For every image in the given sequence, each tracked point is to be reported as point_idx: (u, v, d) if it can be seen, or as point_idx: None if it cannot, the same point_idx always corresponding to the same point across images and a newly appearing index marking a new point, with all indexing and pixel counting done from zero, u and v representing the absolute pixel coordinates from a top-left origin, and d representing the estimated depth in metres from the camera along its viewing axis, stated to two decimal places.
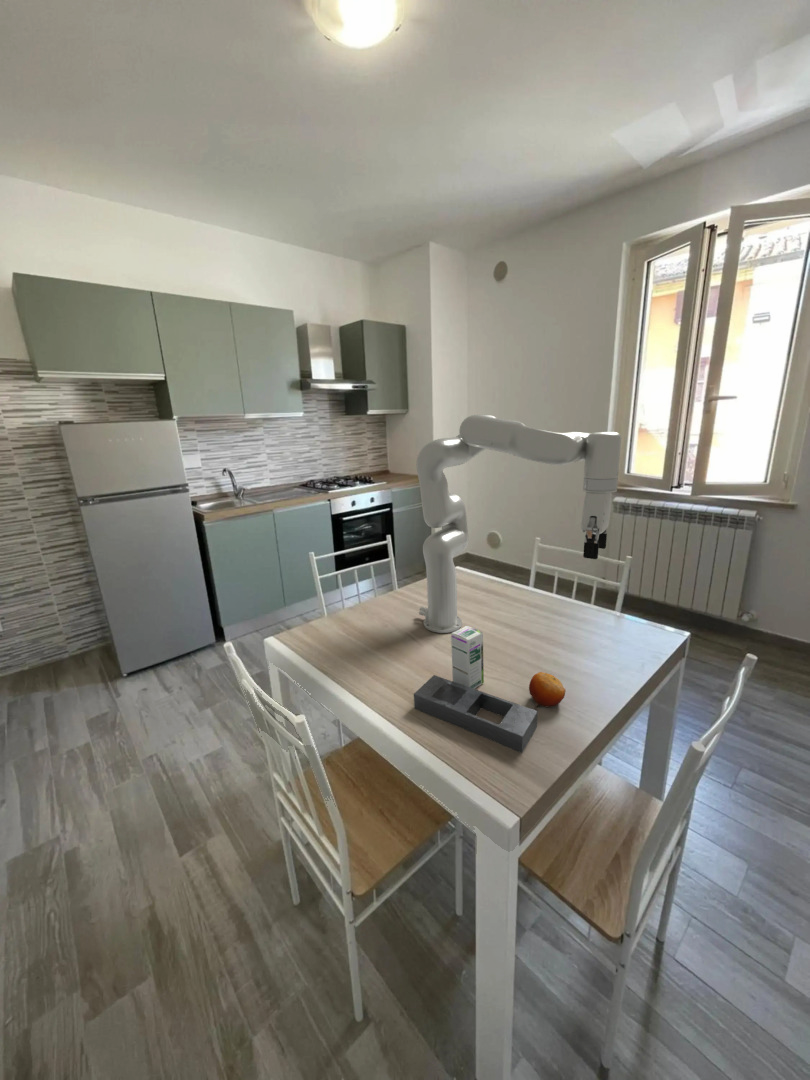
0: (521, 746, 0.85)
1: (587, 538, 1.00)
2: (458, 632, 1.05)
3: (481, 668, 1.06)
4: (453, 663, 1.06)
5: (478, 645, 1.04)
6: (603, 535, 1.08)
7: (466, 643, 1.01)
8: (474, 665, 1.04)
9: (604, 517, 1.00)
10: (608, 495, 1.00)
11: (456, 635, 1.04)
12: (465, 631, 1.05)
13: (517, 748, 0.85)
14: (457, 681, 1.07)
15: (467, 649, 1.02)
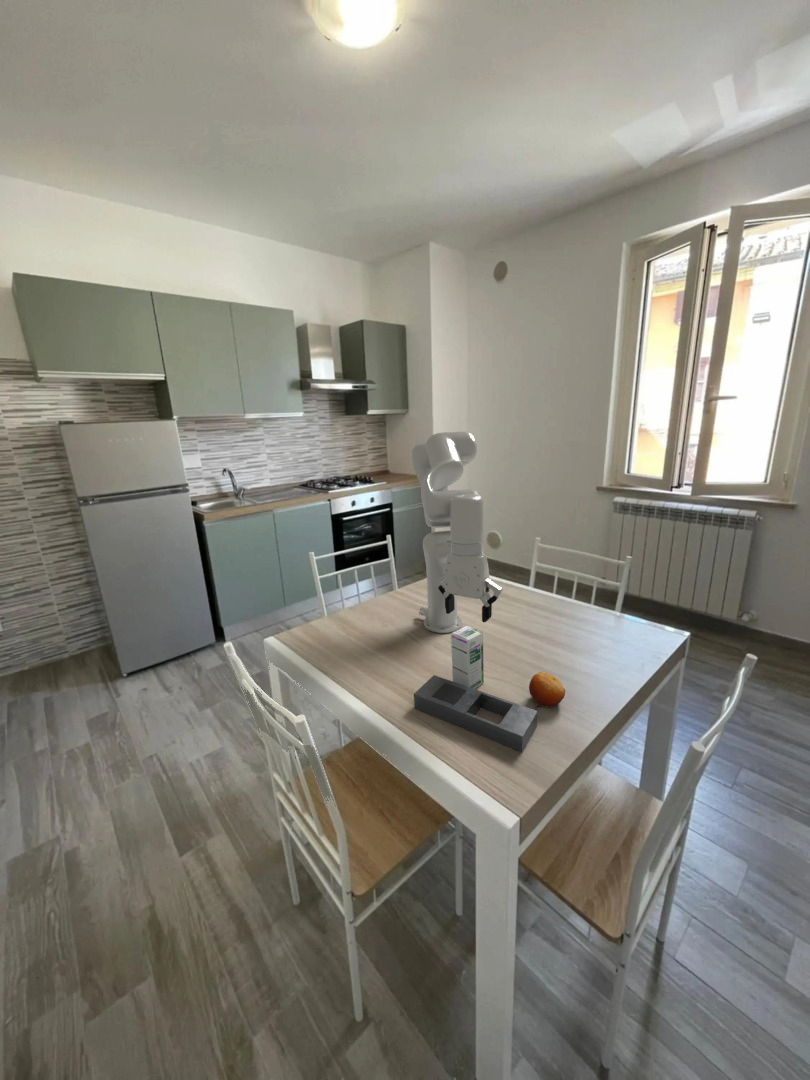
0: (521, 746, 0.85)
1: None
2: (458, 632, 1.05)
3: (481, 668, 1.06)
4: (453, 663, 1.06)
5: (478, 645, 1.04)
6: (453, 597, 1.05)
7: (466, 643, 1.01)
8: (474, 665, 1.04)
9: None
10: None
11: (456, 635, 1.04)
12: (465, 631, 1.05)
13: (517, 748, 0.85)
14: (457, 681, 1.07)
15: (467, 649, 1.02)
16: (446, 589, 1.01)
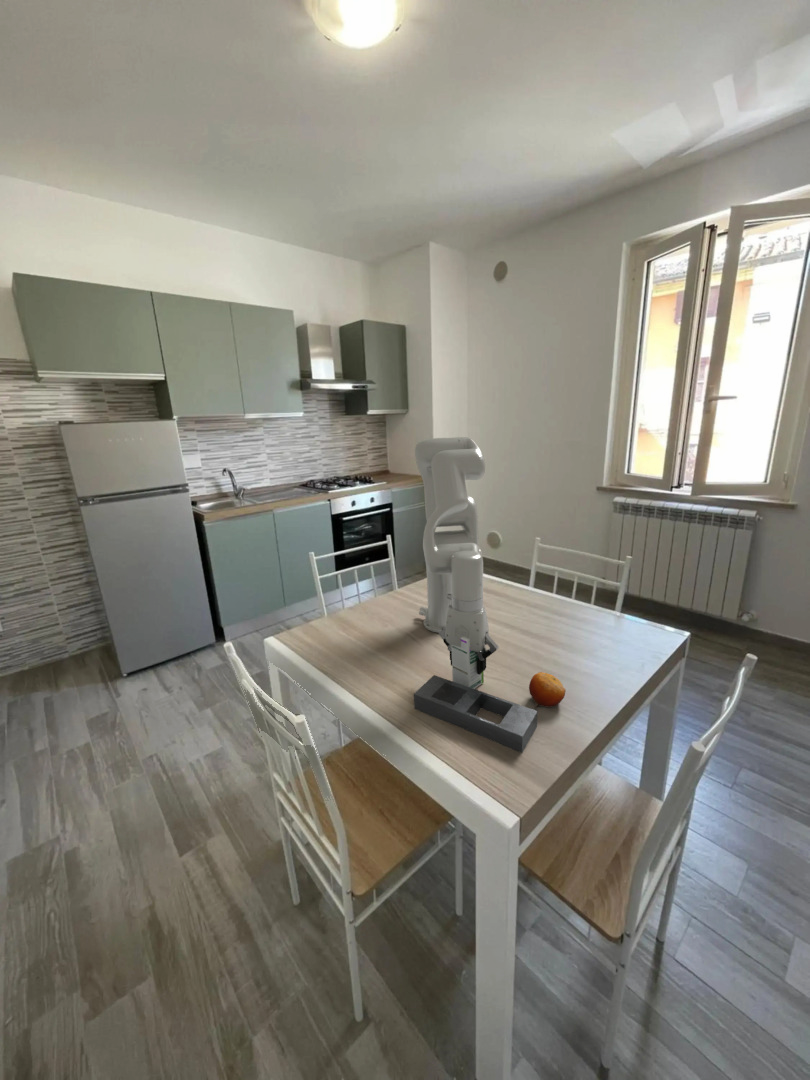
0: (521, 746, 0.85)
1: (489, 655, 1.02)
2: None
3: None
4: (453, 663, 1.06)
5: None
6: None
7: (466, 643, 1.01)
8: (474, 665, 1.04)
9: None
10: None
11: None
12: None
13: (517, 748, 0.85)
14: (457, 681, 1.07)
15: (467, 649, 1.02)
16: (447, 640, 1.05)
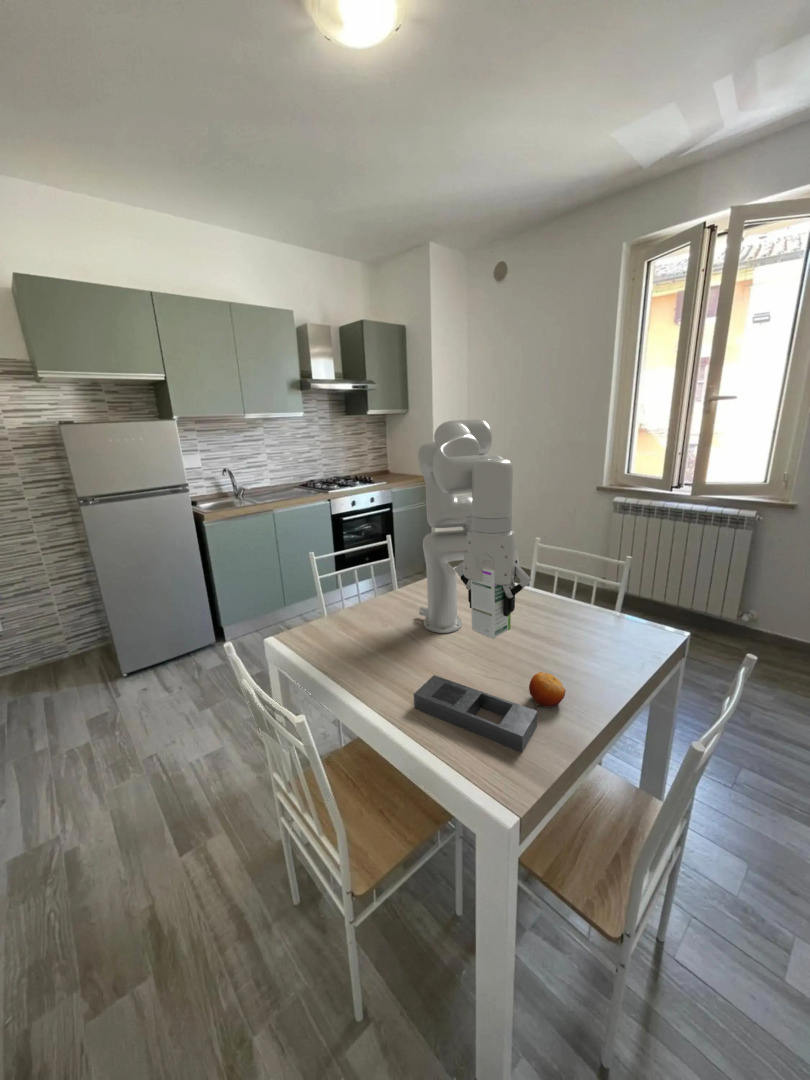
0: (521, 746, 0.85)
1: (519, 590, 0.81)
2: None
3: None
4: (473, 604, 0.85)
5: None
6: None
7: (490, 575, 0.80)
8: (500, 605, 0.83)
9: None
10: None
11: None
12: None
13: (517, 748, 0.85)
14: (478, 626, 0.86)
15: (491, 583, 0.81)
16: (465, 574, 0.84)
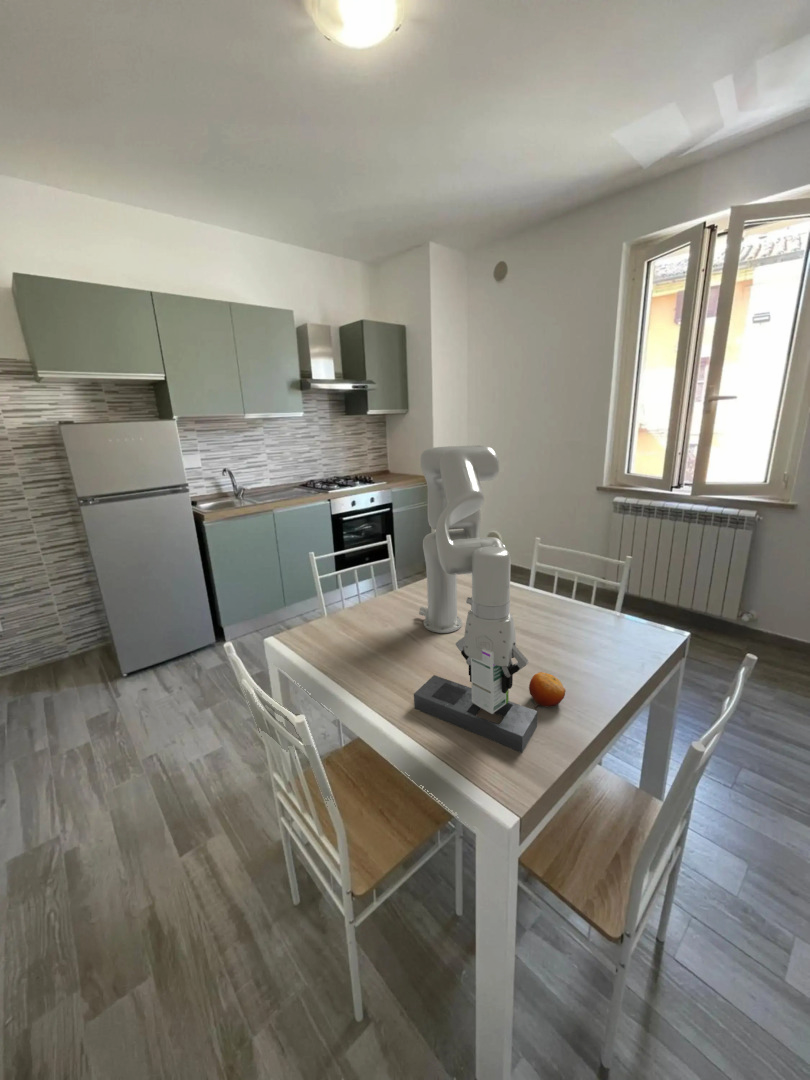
0: (521, 746, 0.85)
1: None
2: None
3: None
4: (473, 680, 0.90)
5: None
6: None
7: (489, 656, 0.85)
8: (498, 682, 0.88)
9: None
10: None
11: None
12: None
13: (517, 748, 0.85)
14: (477, 700, 0.91)
15: (490, 663, 0.85)
16: (466, 652, 0.89)
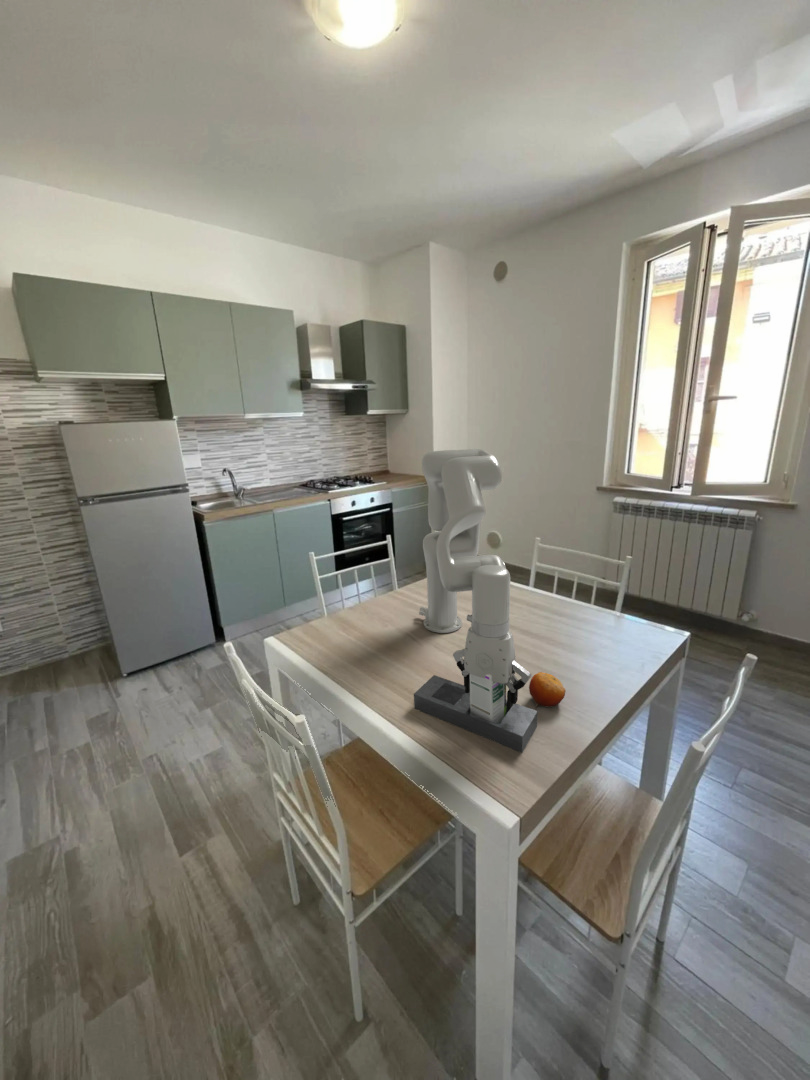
0: (521, 746, 0.85)
1: None
2: None
3: (504, 705, 0.92)
4: (472, 701, 0.92)
5: None
6: None
7: (489, 679, 0.87)
8: (497, 703, 0.89)
9: None
10: None
11: None
12: None
13: (517, 748, 0.85)
14: None
15: (489, 686, 0.87)
16: (466, 669, 0.90)
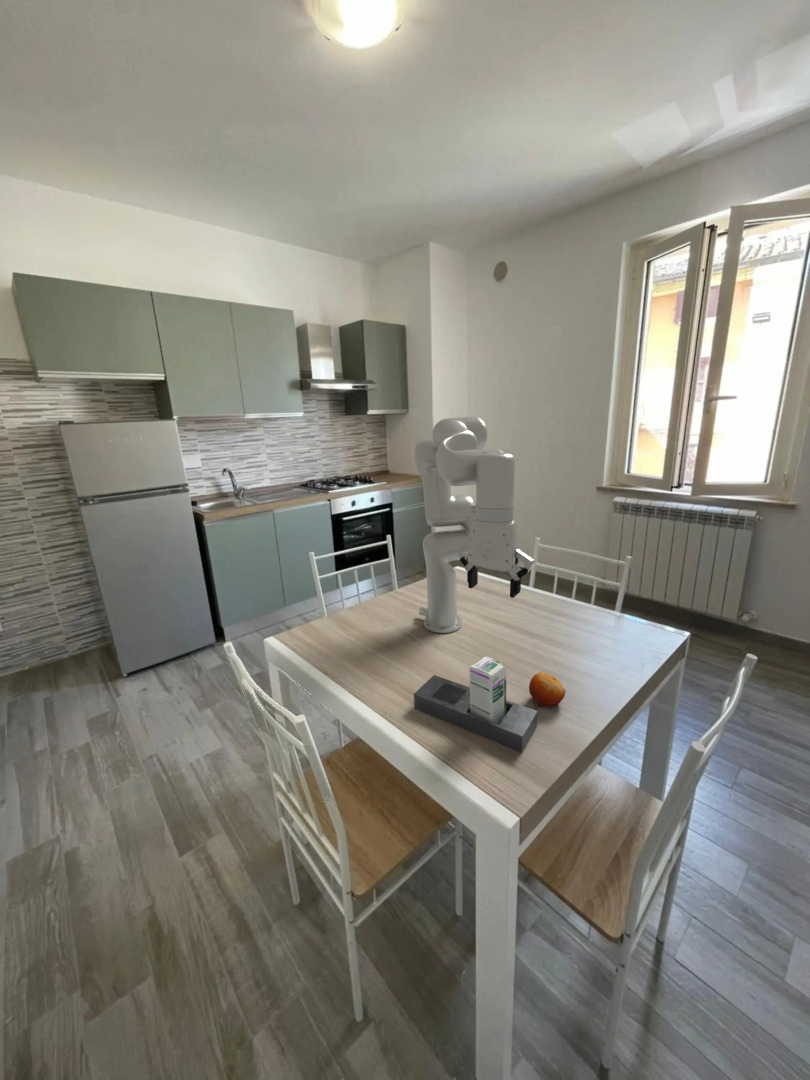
0: (521, 746, 0.85)
1: (525, 573, 0.86)
2: (478, 665, 0.90)
3: (504, 705, 0.92)
4: (472, 701, 0.92)
5: (501, 680, 0.90)
6: (476, 570, 0.94)
7: (489, 679, 0.87)
8: (497, 703, 0.89)
9: None
10: None
11: (476, 670, 0.89)
12: (485, 663, 0.91)
13: (517, 748, 0.85)
14: None
15: (489, 686, 0.87)
16: (470, 561, 0.90)
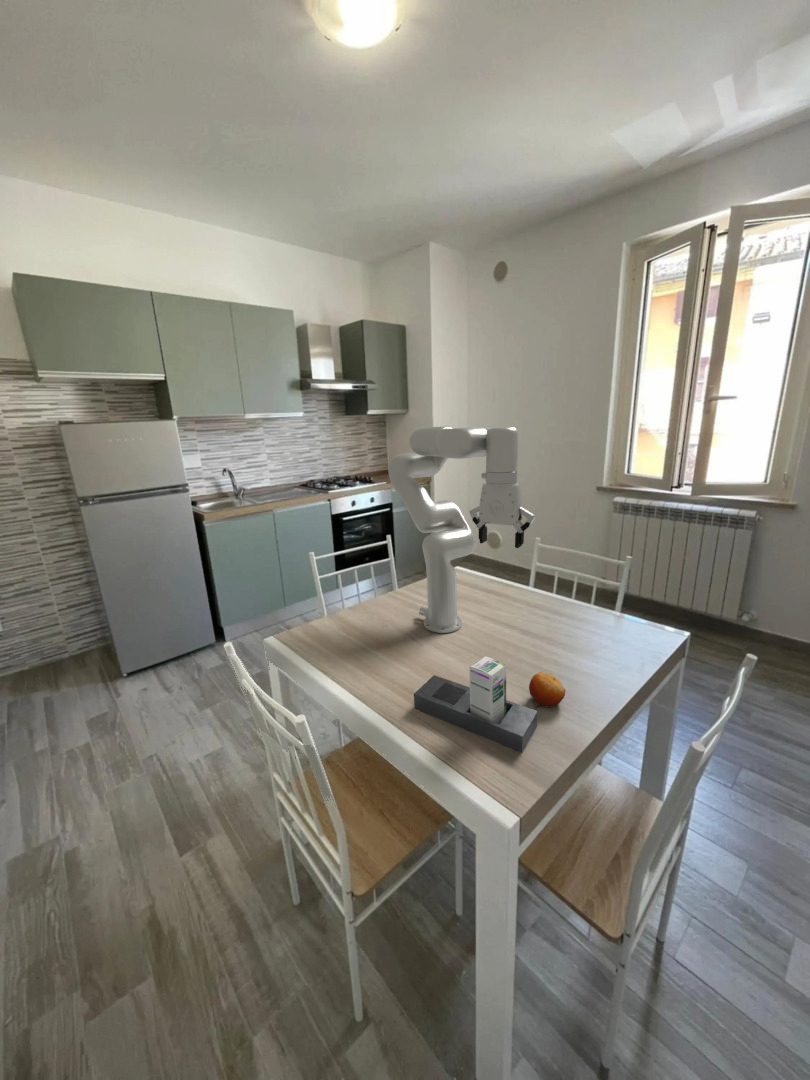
0: (521, 746, 0.85)
1: None
2: (478, 665, 0.90)
3: (504, 705, 0.92)
4: (472, 701, 0.92)
5: (501, 680, 0.90)
6: (486, 528, 1.12)
7: (489, 679, 0.87)
8: (497, 703, 0.89)
9: None
10: None
11: (476, 670, 0.89)
12: (485, 663, 0.91)
13: (517, 748, 0.85)
14: None
15: (489, 686, 0.87)
16: (481, 518, 1.08)
